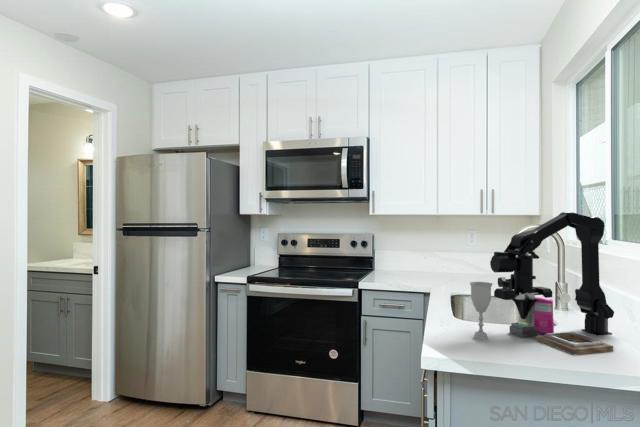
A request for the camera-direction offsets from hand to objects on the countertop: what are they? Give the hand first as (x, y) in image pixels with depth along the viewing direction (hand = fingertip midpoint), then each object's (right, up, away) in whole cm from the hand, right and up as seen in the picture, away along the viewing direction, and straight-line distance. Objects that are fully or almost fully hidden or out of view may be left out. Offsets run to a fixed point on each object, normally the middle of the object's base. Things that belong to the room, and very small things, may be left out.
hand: (523, 318), depth 136 cm
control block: (0, -5, 0) cm, 5 cm away
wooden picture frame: (+10, -5, -11) cm, 16 cm away
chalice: (-16, -6, -5) cm, 18 cm away
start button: (0, -3, 0) cm, 3 cm away
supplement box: (+9, -6, +3) cm, 11 cm away
